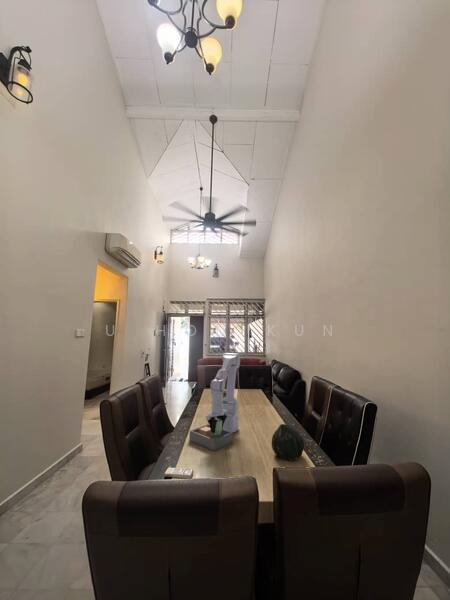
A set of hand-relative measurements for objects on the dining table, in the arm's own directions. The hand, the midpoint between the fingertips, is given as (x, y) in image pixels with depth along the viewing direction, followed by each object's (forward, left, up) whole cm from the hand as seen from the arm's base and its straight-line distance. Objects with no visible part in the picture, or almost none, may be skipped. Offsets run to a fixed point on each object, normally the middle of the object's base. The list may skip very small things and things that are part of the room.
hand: (216, 431), depth 133 cm
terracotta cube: (0, -8, -6) cm, 10 cm away
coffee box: (-33, -27, -6) cm, 43 cm away
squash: (-13, +33, -7) cm, 36 cm away
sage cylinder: (0, 0, -2) cm, 2 cm away
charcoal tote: (0, -4, -6) cm, 7 cm away
